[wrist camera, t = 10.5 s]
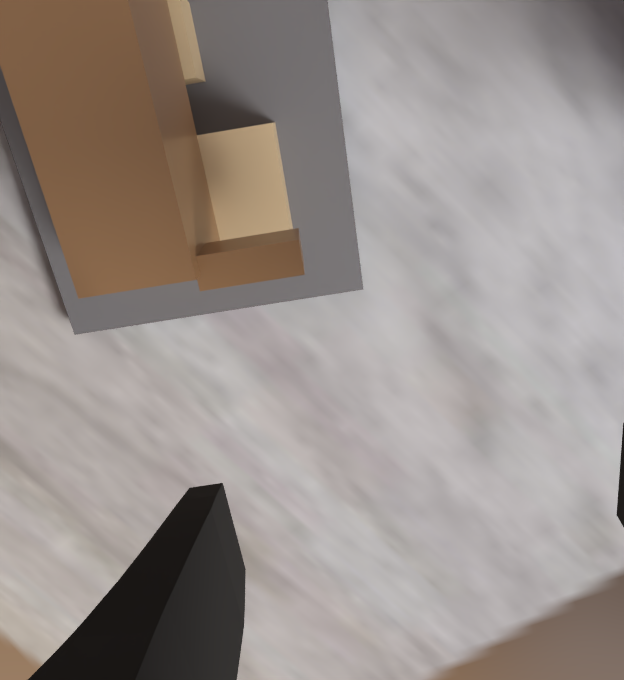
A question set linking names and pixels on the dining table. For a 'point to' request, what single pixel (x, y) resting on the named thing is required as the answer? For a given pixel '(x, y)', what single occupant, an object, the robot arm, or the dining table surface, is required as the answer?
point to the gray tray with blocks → (240, 157)
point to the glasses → (123, 149)
